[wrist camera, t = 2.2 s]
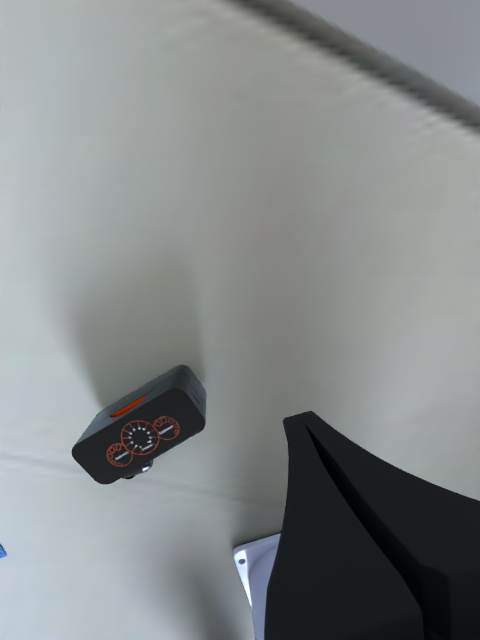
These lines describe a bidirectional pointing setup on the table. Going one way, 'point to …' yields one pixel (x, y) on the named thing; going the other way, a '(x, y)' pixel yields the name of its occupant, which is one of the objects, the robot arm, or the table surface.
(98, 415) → the black rounded block
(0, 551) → the tape line
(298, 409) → the table surface
